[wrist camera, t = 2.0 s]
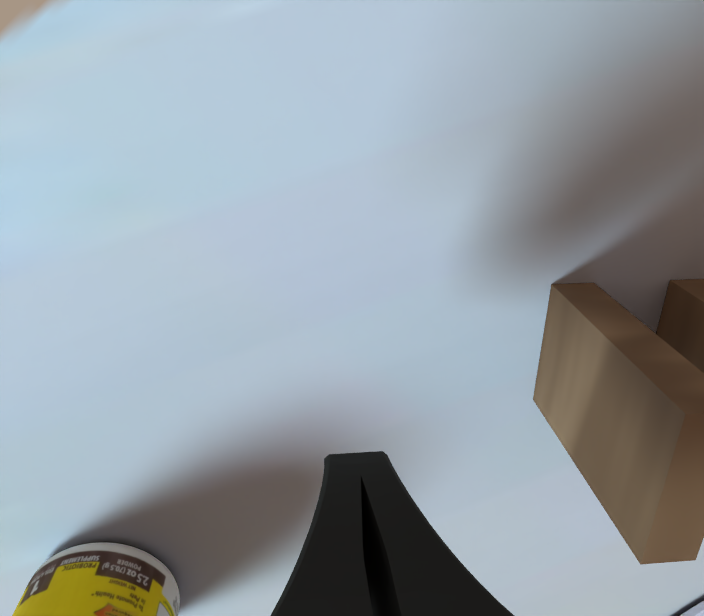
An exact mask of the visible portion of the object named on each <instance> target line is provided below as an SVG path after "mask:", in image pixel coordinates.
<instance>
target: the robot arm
mask: <svg viewBox="0 0 704 616" xmlns="http://www.w3.org/2000/svg"><path fill="white" fill-rule="evenodd" d="M271 616H514V615H513V614H512V613H511V612H509V611H508V610H507V609H506V608H505V607H504V606H503V605H502V604H500V603H499V602H498V601H497V600H496V599H495V598H494V597H493V596H492V595H491V594H490V593H489V592H488V591H487V590H486V589H485V588H484V587H483V586H482V585H481V584H480V583H479V582H478V581H477V580H476V578H475V577H474V576H473V575H472V574H471V573H470V572H469V571H468V570H467V569H466V568H465V567H464V565H463V564H462V563H461V562H460V561H459V560H458V559H457V557H456V556H455V555H454V554H453V553H452V552H451V550H450V549H449V548H448V547H447V545H446V544H445V543H444V542H443V540H442V539H441V538H440V537H439V535H438V534H437V533H436V531H435V530H434V529H433V528H432V526H431V525H430V524H429V522H428V521H427V519H426V518H425V516H424V515H423V514H422V512H421V511H420V509H419V508H418V507H417V505H416V504H415V502H414V501H413V499H412V498H411V496H410V495H409V493H408V491H407V490H406V488H405V487H404V485H403V483H402V482H401V480H400V478H399V477H398V475H397V473H396V471H395V470H394V468H393V466H392V464H391V462H390V460H389V458H388V455H387V454H385V453H384V452H383V451H379V452H363V453H346V454H329V455H328V456H327V457H326V458H325V459H324V476H323V482H322V487H321V491H320V496H319V500H318V503H317V507H316V510H315V513H314V517H313V520H312V523H311V526H310V529H309V532H308V535H307V537H306V540H305V542H304V545H303V548H302V550H301V553H300V556H299V558H298V560H297V563H296V565H295V567H294V570H293V572H292V574H291V576H290V579H289V581H288V583H287V585H286V587H285V589H284V591H283V593H282V595H281V597H280V599H279V601H278V603H277V605H276V607H275V608H274V610H273V612H272V614H271ZM680 616H704V601H702V602H700V603H699V604H697V605H696V606H694V607H692V608H691V609H689V610H688V611H686V612H685V613H683V614H681V615H680Z"/></svg>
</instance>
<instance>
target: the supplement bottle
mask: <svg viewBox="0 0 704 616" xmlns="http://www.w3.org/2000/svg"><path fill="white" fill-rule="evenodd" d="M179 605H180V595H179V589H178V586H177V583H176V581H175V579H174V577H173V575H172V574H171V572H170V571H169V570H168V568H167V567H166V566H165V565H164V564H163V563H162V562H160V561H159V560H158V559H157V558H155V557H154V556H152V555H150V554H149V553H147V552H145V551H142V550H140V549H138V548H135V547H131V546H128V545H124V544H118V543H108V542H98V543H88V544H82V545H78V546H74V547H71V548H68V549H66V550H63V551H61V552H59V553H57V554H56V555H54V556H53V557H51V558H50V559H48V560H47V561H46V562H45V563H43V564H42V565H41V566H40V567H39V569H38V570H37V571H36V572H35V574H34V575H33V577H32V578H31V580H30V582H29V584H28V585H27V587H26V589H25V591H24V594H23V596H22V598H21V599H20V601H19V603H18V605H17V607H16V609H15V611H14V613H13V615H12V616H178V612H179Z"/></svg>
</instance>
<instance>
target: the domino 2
mask: <svg viewBox="0 0 704 616" xmlns="http://www.w3.org/2000/svg"><path fill="white" fill-rule="evenodd" d="M656 334H657V335H658V336H659V337H660V338H661V339H663V340H664V341H665V342H666V343H667V344H669V345H670V346H671V347H672V348H674V349H675V350H676V351H677V352H678V353H680V354H681V355H682V356H683V357H684V358H686V359H687V360H688V361H689V362H691V363H692V364H693V365H694V366H695V367H697V368H698V369H699V370H700V371H701V372H703V373H704V279H686V280H670V282H669V285H668V289H667V293H666V297H665V301H664V305H663V309H662V313H661V317H660V321H659V325H658V329H657V332H656Z"/></svg>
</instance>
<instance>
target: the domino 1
mask: <svg viewBox="0 0 704 616" xmlns="http://www.w3.org/2000/svg"><path fill="white" fill-rule="evenodd" d="M533 400H534V402H535V403H536V405H537V406H538V408H539V409H540V411H541V412H542V414H543V416H544V417H545V419H546V420H547V422H548V423H549V425H550V426H551V428H552V429H553V431H554V432H555V434H556V435H557V437H558V439H559V440H560V442H561V443H562V445H563V446H564V448H565V449H566V451H567V452H568V454H569V455H570V457H571V458H572V460H573V462H574V463H575V465H576V466H577V468H578V469H579V471H580V472H581V474H582V475H583V477H584V478H585V480H586V481H587V483H588V485H589V486H590V488H591V489H592V491H593V492H594V494H595V495H596V497H597V498H598V500H599V501H600V503H601V504H602V506H603V508H604V509H605V511H606V512H607V514H608V515H609V517H610V518H611V520H612V521H613V523H614V524H615V526H616V527H617V529H618V531H619V532H620V534H621V535H622V537H623V538H624V540H625V541H626V543H627V544H628V546H629V547H630V549H631V550H632V552H633V554H634V555H635V557H636V558H637V560H638V561H639V563H640V564H650V563H664V562H677V561H690V560H696V557H697V554H698V552H699V549H700V546H701V543H702V540H703V538H704V373H703V372H701V371H700V370H699V369H698V368H697V367H695V366H694V365H693V364H692V363H691V362H689V361H688V360H687V359H686V358H684V357H683V356H682V355H681V354H680V353H678V352H677V351H676V350H675V349H674V348H672V347H671V346H670V345H669V344H667V343H666V342H665V341H664V340H663V339H661V338H660V337H659V336H658V335H657V334H655V333H654V332H653V331H652V330H651V329H649V328H648V327H647V326H646V325H644V324H643V323H642V322H641V321H640V320H638V319H637V318H636V317H635V316H634V315H632V314H631V313H630V312H629V311H627V310H626V309H625V308H624V307H623V306H621V305H620V304H619V303H618V302H617V301H615V300H614V299H613V298H612V297H611V296H609V295H608V294H607V293H606V292H604V291H603V290H602V289H601V288H600V287H598V286H597V285H596V284H595V283H572V284H552V285H551V291H550V297H549V303H548V310H547V316H546V322H545V328H544V334H543V341H542V347H541V353H540V359H539V366H538V372H537V378H536V384H535V391H534V397H533Z"/></svg>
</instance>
